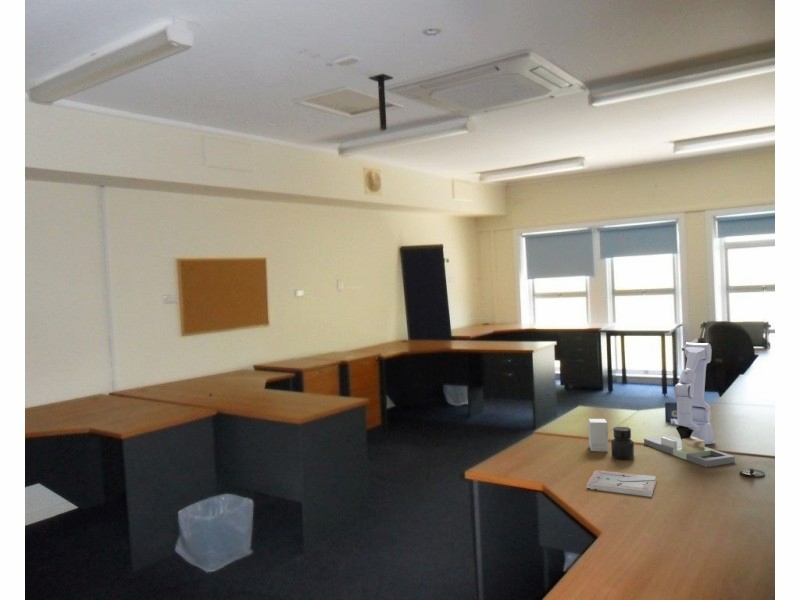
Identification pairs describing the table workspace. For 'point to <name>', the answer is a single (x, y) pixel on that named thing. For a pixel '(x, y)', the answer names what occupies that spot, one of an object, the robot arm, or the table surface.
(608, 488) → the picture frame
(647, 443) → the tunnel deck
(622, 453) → the ink bottle
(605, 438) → the supplement box
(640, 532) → the table surface
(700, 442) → the birch block
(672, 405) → the vhs cassette tape
